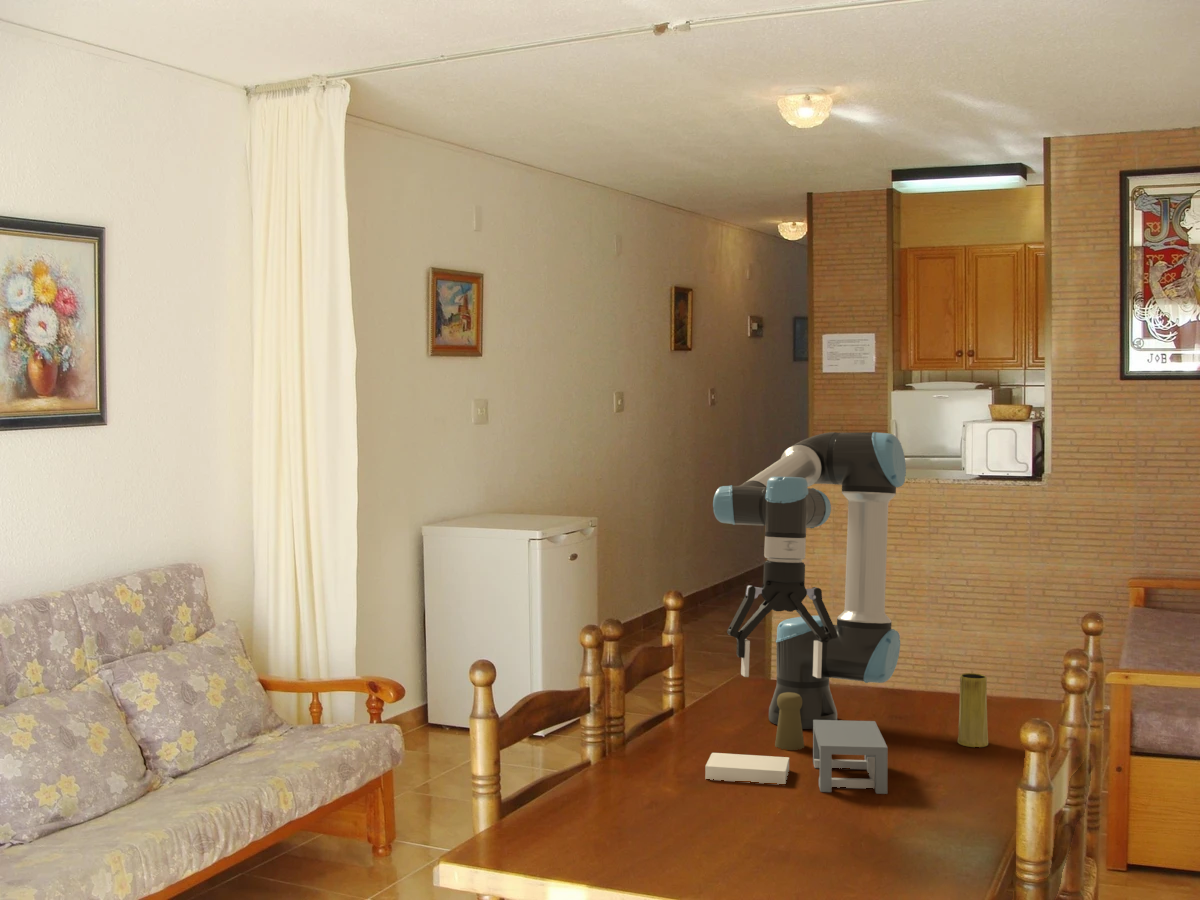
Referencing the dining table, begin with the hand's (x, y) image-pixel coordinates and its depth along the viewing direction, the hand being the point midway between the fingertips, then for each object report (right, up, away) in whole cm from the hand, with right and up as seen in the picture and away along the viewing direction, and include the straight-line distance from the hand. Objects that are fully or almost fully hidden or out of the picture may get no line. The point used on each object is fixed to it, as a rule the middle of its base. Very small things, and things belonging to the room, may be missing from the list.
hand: (781, 676), depth 217 cm
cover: (-5, -21, +9) cm, 24 cm away
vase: (+44, -20, +29) cm, 57 cm away
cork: (+6, -20, +28) cm, 35 cm away
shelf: (+14, -21, +7) cm, 26 cm away
